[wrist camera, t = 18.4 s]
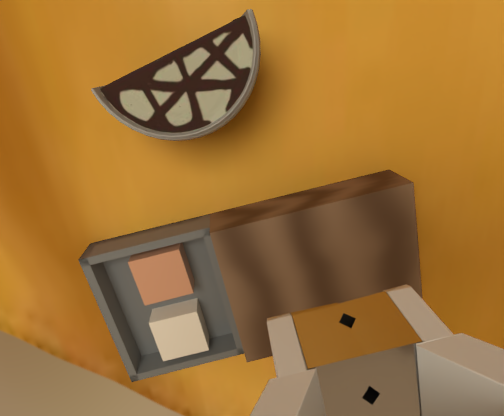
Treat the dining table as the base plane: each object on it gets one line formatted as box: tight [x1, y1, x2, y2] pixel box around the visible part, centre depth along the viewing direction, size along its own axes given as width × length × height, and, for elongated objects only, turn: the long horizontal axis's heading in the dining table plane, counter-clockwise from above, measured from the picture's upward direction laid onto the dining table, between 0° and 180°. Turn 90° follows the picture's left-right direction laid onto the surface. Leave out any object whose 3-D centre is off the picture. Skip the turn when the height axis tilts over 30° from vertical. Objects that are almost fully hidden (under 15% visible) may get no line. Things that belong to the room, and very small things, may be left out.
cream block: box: [149, 298, 209, 361], centre depth 40 cm, size 5×5×2 cm
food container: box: [91, 9, 261, 141], centre depth 30 cm, size 12×6×10 cm, turn 115°
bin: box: [79, 214, 244, 382], centre depth 39 cm, size 12×15×4 cm
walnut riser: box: [210, 170, 422, 362], centre depth 39 cm, size 19×15×5 cm
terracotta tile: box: [128, 242, 195, 305], centre depth 38 cm, size 5×5×2 cm
